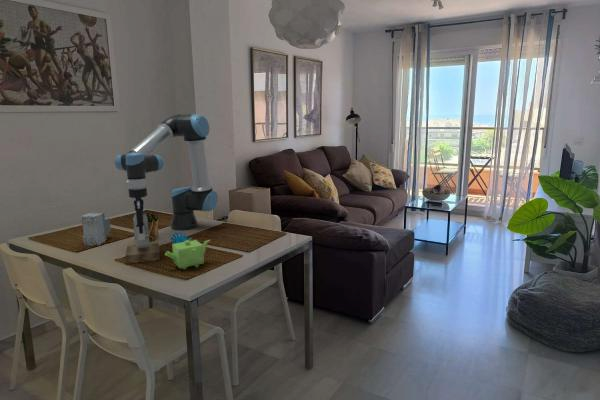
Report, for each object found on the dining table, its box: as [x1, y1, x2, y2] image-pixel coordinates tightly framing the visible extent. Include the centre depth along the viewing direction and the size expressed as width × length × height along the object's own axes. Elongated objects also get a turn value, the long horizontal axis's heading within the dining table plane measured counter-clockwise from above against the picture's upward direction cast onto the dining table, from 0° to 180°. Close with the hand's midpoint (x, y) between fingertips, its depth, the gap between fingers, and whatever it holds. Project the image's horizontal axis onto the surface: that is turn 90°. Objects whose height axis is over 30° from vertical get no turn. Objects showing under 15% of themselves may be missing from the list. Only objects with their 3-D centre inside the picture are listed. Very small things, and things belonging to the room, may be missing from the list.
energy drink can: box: [132, 212, 150, 248], centre depth 185 cm, size 6×6×15 cm
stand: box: [125, 242, 161, 265], centre depth 187 cm, size 14×14×4 cm
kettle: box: [164, 239, 211, 270], centre depth 176 cm, size 15×14×11 cm
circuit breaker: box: [80, 212, 112, 246], centre depth 211 cm, size 8×14×15 cm, turn 174°
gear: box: [170, 231, 192, 244], centre depth 201 cm, size 11×6×10 cm
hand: (141, 237), depth 186 cm, fingers closed on energy drink can, 6 cm apart
